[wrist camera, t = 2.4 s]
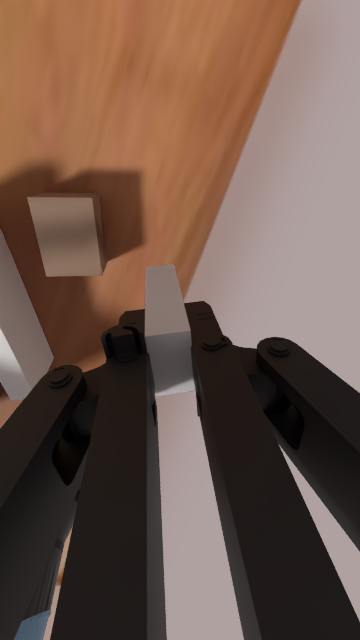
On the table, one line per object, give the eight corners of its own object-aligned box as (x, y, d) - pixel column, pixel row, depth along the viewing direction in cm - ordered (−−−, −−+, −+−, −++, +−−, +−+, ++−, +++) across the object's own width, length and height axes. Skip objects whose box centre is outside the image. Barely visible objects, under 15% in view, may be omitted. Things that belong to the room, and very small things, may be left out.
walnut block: (107, 261, 35) (102, 275, 30) (58, 262, 34) (46, 276, 30) (99, 192, 31) (91, 197, 26) (44, 192, 30) (27, 197, 26)
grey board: (54, 357, 41) (35, 397, 34) (33, 360, 41) (11, 400, 34) (-11, 200, 30) (-58, 212, 23) (-39, 203, 30) (-95, 216, 23)
